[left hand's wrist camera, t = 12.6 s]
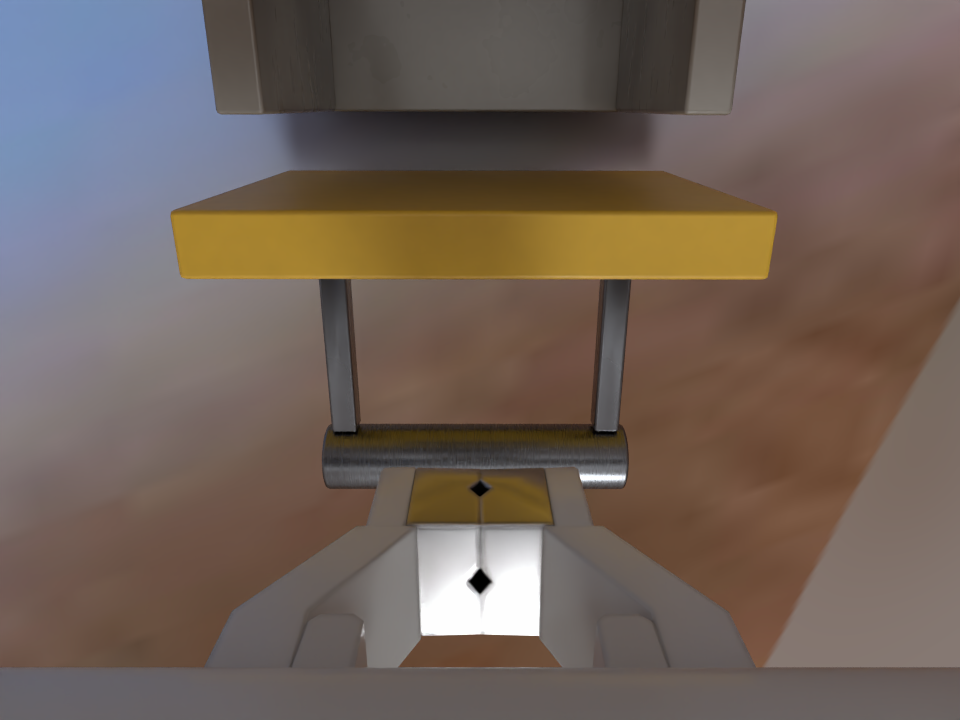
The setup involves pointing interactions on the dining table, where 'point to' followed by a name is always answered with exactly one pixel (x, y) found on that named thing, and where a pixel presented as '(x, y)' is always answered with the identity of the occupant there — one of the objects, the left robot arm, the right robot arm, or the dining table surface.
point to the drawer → (474, 187)
